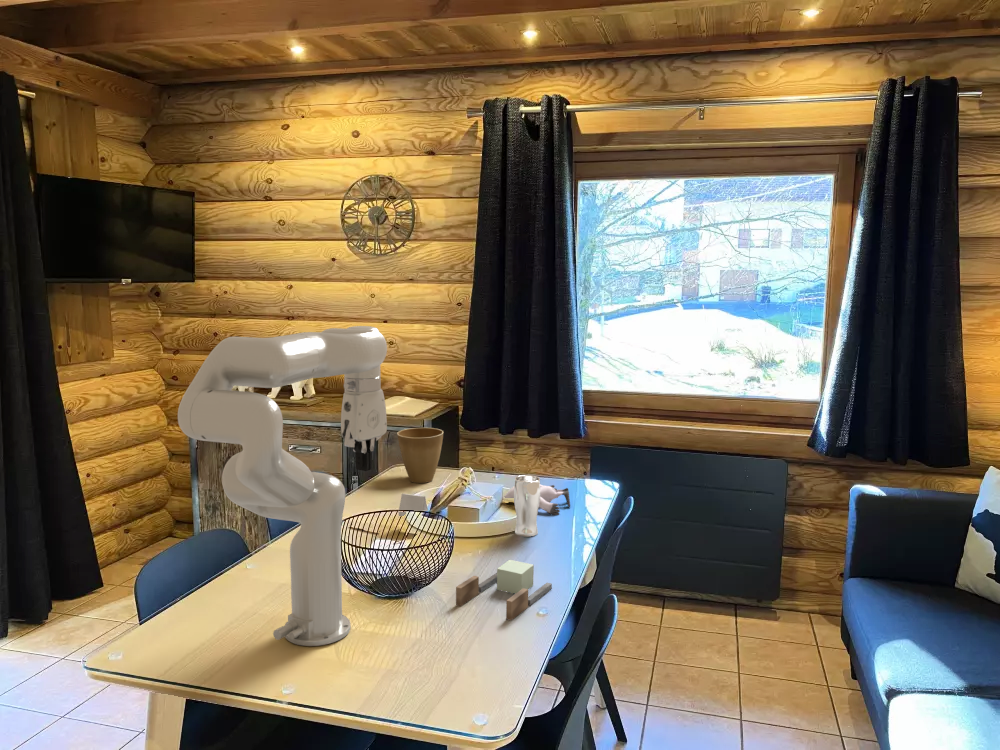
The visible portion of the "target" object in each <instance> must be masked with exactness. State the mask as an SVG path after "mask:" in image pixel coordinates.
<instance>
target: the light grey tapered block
mask: <svg viewBox="0 0 1000 750" xmlns="http://www.w3.org/2000/svg"><path fill="white" fill-rule="evenodd" d="M399 510H414V511H428V512H429V509H428V504H427V499H426V496H424V495H416V494H411V493H410V494H409V493H401V496H400V503H399V507H398V517H399V516H404V515H405V514H406V512H399Z"/></svg>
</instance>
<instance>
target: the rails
mask: <svg viewBox="0 0 1000 750" xmlns="http://www.w3.org/2000/svg"><path fill="white" fill-rule="evenodd" d="M495 583H496V584H497V572H496V573H494V574H492V575H491V576H489V577H488V578H487V579H485V580H483V581H482V582H480V583H479V593H483V592H484V591H485V590H487V589H488V588H490V587H491V586H493V585H494V584H495ZM550 589H551V590H552V589H553V585H552V583H550V582H546V583H545V584H543V585H541V587H539V588H538V589H536V590H535V591H534V592H533V593H531V594H529V595H528V606H529V605H530V606H532V605H533V604H534V603H536V602H537V601H538V600H540V599H541V598H542V597H543V596H544V595H547V593H549V592H550V591H551V590H550ZM549 590H550V591H549Z"/></svg>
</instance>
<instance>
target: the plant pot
mask: <svg viewBox="0 0 1000 750" xmlns="http://www.w3.org/2000/svg"><path fill="white" fill-rule="evenodd" d="M396 433H397V435H396V436H397V441H398V445H399V450H400V456H401V458H402V462H403V465H404V469H405V471H406V474H407V477H408V479H409V481H410V482H412V483H416V484H424V483H430V482H432V481H433V479H434V476H435V474H436V472H437V469H438V465H439V460H440V458H441V457H440V456H441V451H442V446H443V439H444V430H442V429H439V428H434V427H412V428H406V429H401V430H399V431H398V432H396Z"/></svg>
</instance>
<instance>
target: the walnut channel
mask: <svg viewBox="0 0 1000 750" xmlns="http://www.w3.org/2000/svg"><path fill="white" fill-rule="evenodd" d="M479 579H480V578H479V576H478V575H473V576H470V578H468V579H466V580H464V581H463V582H461V584H458V585H457V586H455V587H456V588H455V605H456V606H458V607H462V606H463V605H465V604H466V603H468V602H470V601H471V600H472V599H474V598H475V597H477V596H478V595H479V593H480V592H479V584H480V583H479V581H480V580H479ZM528 597H529V590H528V589H525V588H523V589H521V590H520V591H519V592H517V593H516V594H513V595H512V596H511V597H509V598H507V599H506V603H505V604H506V608H505V609H506V610H505V611H506V612H505V619H506V620H509V621H513V620H514V619H515V618H517V617H518V616H519V615H520V614H522V613H523V612H524V611H525V610H527V609H528V608H529V605H528ZM521 612H522V613H521Z"/></svg>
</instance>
